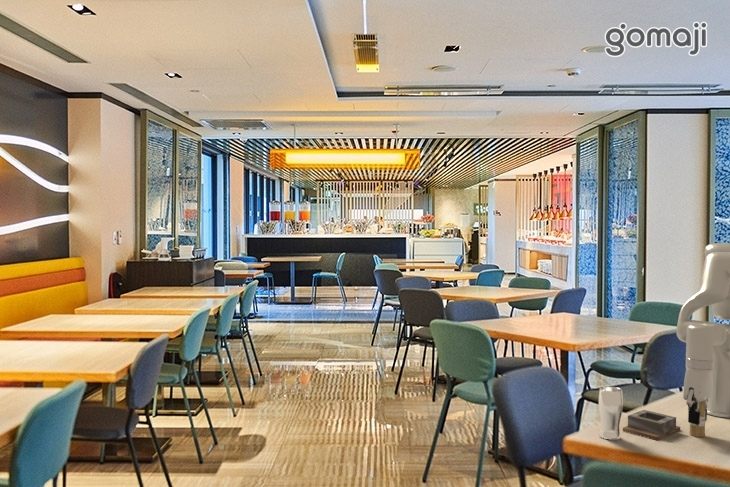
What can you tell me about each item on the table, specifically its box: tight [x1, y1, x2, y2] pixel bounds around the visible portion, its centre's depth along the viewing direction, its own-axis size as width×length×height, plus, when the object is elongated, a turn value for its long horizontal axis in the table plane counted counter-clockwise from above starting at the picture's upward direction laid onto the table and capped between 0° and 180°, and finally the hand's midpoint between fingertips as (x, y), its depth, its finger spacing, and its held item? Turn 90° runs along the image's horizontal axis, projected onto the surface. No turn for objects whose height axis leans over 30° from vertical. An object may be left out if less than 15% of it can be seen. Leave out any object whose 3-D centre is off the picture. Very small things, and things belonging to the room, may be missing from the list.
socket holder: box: [622, 409, 681, 441], centre depth 201 cm, size 16×11×4 cm
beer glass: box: [598, 385, 624, 441], centre depth 193 cm, size 7×7×15 cm
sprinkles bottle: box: [688, 396, 706, 438], centre depth 197 cm, size 5×5×14 cm
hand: (697, 421), depth 197 cm, fingers closed on sprinkles bottle, 4 cm apart
